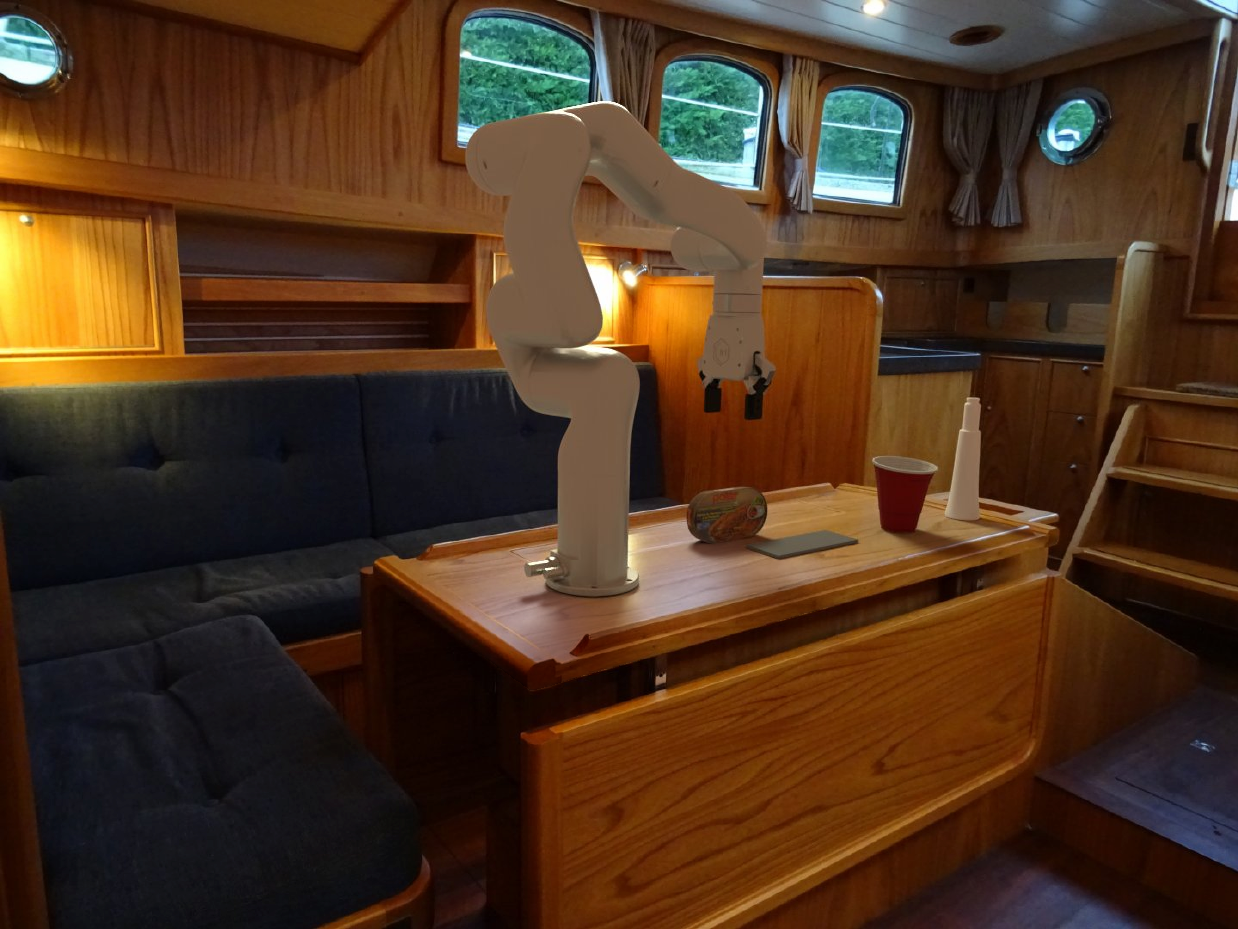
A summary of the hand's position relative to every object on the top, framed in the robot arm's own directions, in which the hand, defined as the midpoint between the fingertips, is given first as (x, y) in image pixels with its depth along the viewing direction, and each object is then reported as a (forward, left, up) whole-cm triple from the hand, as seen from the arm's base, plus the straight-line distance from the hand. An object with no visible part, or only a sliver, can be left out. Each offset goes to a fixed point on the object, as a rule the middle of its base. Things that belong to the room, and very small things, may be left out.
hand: (732, 415), depth 136 cm
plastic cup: (+30, -11, -20) cm, 38 cm away
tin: (0, 0, -20) cm, 20 cm away
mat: (+8, -9, -20) cm, 24 cm away
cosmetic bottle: (+48, -11, -20) cm, 53 cm away
